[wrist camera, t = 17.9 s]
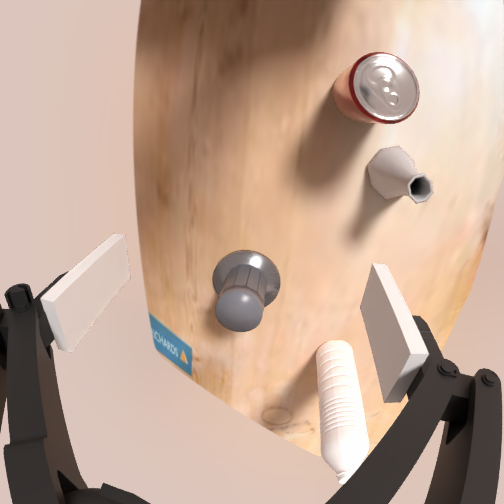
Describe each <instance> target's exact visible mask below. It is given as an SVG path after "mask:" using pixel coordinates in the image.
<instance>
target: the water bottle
mask: <svg viewBox="0 0 504 504" xmlns="http://www.w3.org/2000/svg"><path fill="white" fill-rule="evenodd" d="M316 364H317V379H318V390H319V391H318V396H319V411H320V430H321V431H320V433H321V454H322V457H323V459H324V461H325V462H326V463H327V464H328V465H329V466H330V467H331V468H332V469H333V470H334V471H335V472H336V473H337V474H338V475H337V476H336V477H337V478H338V482H339V483H340V484H345V483H346V481H347V480H348V479H349V478H350V477H351V476H352V475H353V474H354V472H355V471H356V470H357V469H358V468H359V467H360V465H361V463H362V462H363V460H364V458H365V457H366V455H367V453H368V450H369V438H368V433H367V428H366V421H365V415H364V410H363V403H362V396H361V393H360V386H359V381H358V377H357V370H356V367H355V361H354V356H353V351H352V348H351V346H350V345H349V344H348V343H346V342H345V341H341V340H336V341H335V340H332V341H328V342H326V343H325V344H323V345H321V346H320V347H319V348H318V350H317V352H316Z"/></svg>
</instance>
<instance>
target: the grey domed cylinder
mask: <svg viewBox="0 0 504 504" xmlns="http://www.w3.org/2000/svg"><path fill="white" fill-rule="evenodd" d="M266 287H267V279H266V277H265V275H264V274H263V272H262V271H261V270H260V269H258V268H257V267H255V266H253V265H248V264H241V265H238V266H236V267H234V268H232V269H231V270H230V271H229V273H228V275H227V276H226V279H225V281H224V284H223V287H222V289H221V292H220V295H219V297H218V302H217V304H216V308H215V313H216V317H217V319H218V321H219V322H220V323H221V324H222V325H223V326H224V327H226V328H227V329H229V330H232V331H236V332H246V331H250V330H252V329H254V328H256V327H257V326H258V325H259V323H260V322H261V319H262V313H263V310H264V303H265V295H266Z"/></svg>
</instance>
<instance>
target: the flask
mask: <svg viewBox="0 0 504 504" xmlns="http://www.w3.org/2000/svg"><path fill="white" fill-rule="evenodd" d="M367 168H368V173H369V177H370V182H371V186H372V187H373V188H374V189H375V190H376V191H377V192H378V193H380V194H381V195H382V196H383V197H384V198H385V199H390V198H394V197H399V196H403V195H406V196H409V197H410V198H411V199H412V200H413V201H414V202H415V203H416V204H417V203H421V202H425V201H427V200H428V199H429V197H430V196H431V195H432V194H433V186H432V181H431V180H430V179H429V178H428V177H427V176H426V175H425V174H424V173H421V174H418V171H417V169H416V166H415V163H414V160H413V159H412V158H411V157H410V156H409V155H408V154H407V153H406V152H405V151H404V150H403V149H402V148H401V147H400V146H395V147H390V148H385V149H380V150H379V151H378V153H377V154H376V155H375V156H374V158H373V159H372V160H371V161H370V162H369V164H368V165H367Z"/></svg>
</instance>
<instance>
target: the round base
mask: <svg viewBox="0 0 504 504" xmlns="http://www.w3.org/2000/svg"><path fill="white" fill-rule="evenodd" d="M241 264H248V265H253V266H255V267H257V268H258V269H260V270H261V271H262V272H263V274H264V275H265V277H266V279H267V287H266V295H265V303H264V307H265V306H267V305H269V304H270V303H271V302H272V301H273V300H274V299H275V298H276V296H277V294H278V292H279V289H280V275H279V272H278V269H277V268H276V266H275V265H274V263H273V262H272V261H271V260H270V259H269V258H267V257H266V256H264V255H263V254H261V253H258V252H255V251H250V250H240V251H235V252H232V253H230V254H228V255H226V256H225V257H224V258H222V259H221V261H220V262H219V263H218V265H217V267H216V269H215V272H214V276H213V282H214V287H215V290H216V292H217V293H218V295H220V292H221V289H222V287H223V284H224V281H225V279H226V276H227V275H228V273H229V271H230V270H231V269H232V268H234V267H236V266H238V265H241Z"/></svg>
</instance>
